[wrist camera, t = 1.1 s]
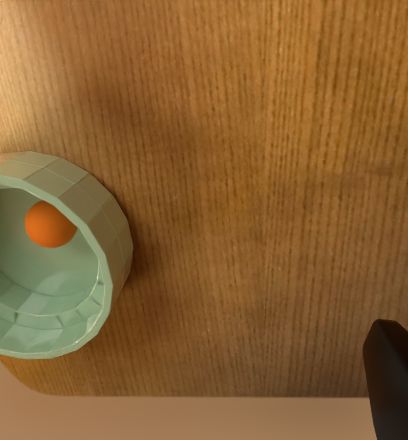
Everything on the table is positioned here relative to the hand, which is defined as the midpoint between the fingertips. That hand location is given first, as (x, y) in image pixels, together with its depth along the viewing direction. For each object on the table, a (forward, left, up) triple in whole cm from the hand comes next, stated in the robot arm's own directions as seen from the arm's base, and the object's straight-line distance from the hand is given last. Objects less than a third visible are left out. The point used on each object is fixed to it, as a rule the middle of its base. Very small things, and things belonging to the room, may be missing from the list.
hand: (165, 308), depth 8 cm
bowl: (-5, +12, -15) cm, 20 cm away
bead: (-3, +10, -13) cm, 17 cm away
